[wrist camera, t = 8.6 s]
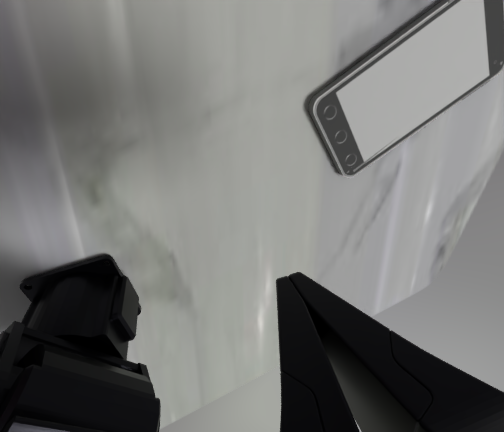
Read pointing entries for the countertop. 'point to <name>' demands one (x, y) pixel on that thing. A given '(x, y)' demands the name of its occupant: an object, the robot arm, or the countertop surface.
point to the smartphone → (409, 81)
